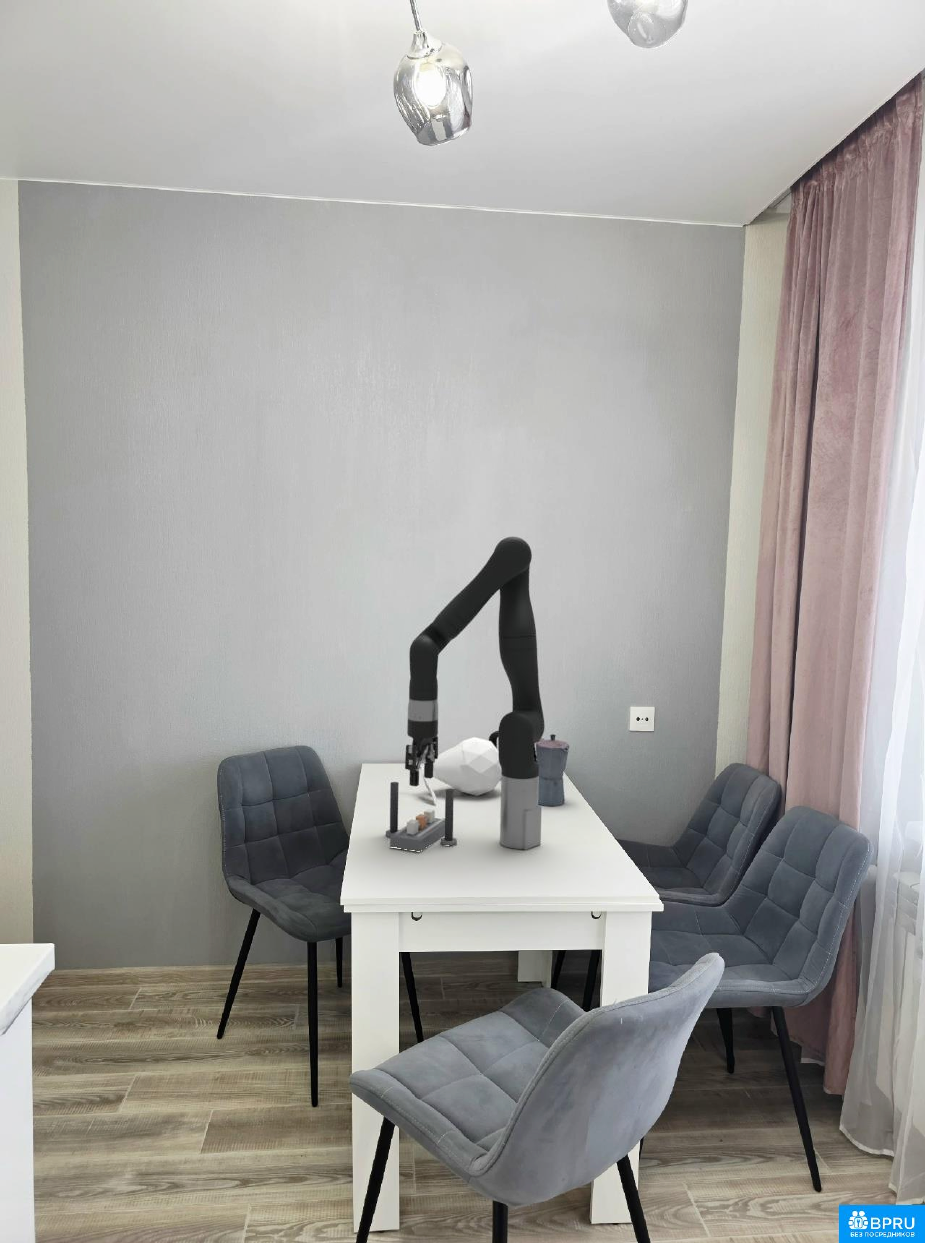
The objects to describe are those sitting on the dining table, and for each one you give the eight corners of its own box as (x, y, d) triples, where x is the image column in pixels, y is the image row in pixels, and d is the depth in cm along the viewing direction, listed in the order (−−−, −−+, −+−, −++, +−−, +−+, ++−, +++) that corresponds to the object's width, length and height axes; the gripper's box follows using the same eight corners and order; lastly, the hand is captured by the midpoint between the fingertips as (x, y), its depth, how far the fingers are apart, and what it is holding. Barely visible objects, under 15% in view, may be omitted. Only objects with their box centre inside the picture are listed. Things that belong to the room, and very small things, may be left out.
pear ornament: (503, 725, 270) (409, 727, 265) (515, 784, 253) (416, 787, 248) (496, 761, 280) (406, 764, 276) (508, 820, 263) (412, 824, 259)
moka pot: (556, 811, 251) (558, 740, 250) (517, 799, 263) (518, 731, 261) (578, 805, 258) (580, 735, 256) (539, 793, 269) (541, 727, 268)
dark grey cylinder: (460, 843, 222) (461, 789, 221) (449, 847, 219) (450, 792, 218) (448, 840, 225) (449, 786, 223) (437, 843, 222) (438, 789, 220)
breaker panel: (420, 852, 215) (420, 838, 214) (390, 848, 218) (390, 833, 217) (449, 831, 231) (449, 817, 231) (421, 827, 234) (421, 813, 234)
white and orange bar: (413, 834, 218) (413, 823, 218) (406, 833, 219) (407, 822, 218) (434, 820, 230) (434, 809, 229) (428, 819, 230) (428, 808, 230)
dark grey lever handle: (404, 835, 227) (405, 782, 226) (393, 839, 224) (394, 785, 223) (393, 832, 230) (394, 780, 229) (382, 835, 227) (383, 782, 226)
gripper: (424, 723, 214) (423, 790, 215) (448, 713, 227) (446, 777, 229) (396, 720, 217) (395, 786, 218) (421, 711, 230) (419, 773, 231)
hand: (421, 781), depth 223 cm, fingers open, 8 cm apart
